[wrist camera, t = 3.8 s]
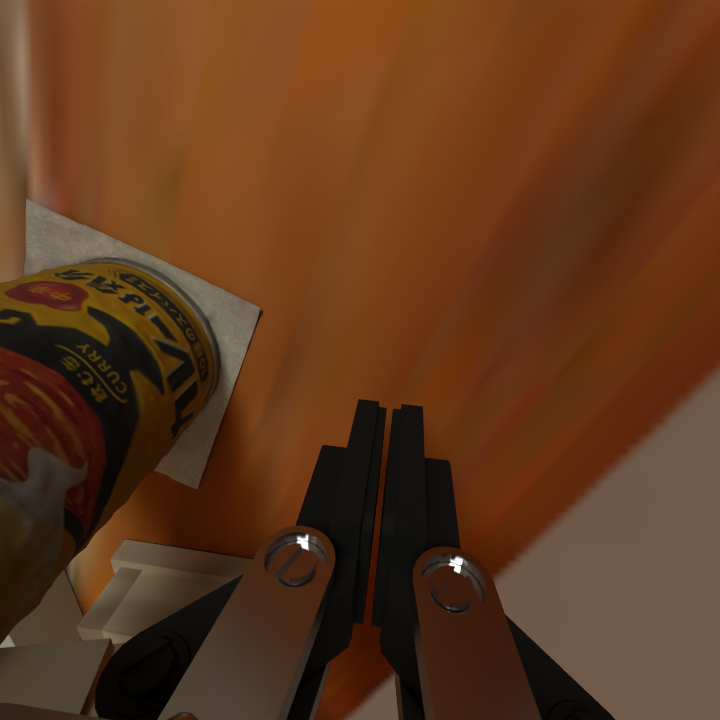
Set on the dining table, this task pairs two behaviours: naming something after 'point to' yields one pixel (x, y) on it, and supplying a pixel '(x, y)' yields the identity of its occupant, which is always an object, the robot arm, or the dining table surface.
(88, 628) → the socket block
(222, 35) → the dining table surface
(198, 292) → the condiment
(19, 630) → the tray
